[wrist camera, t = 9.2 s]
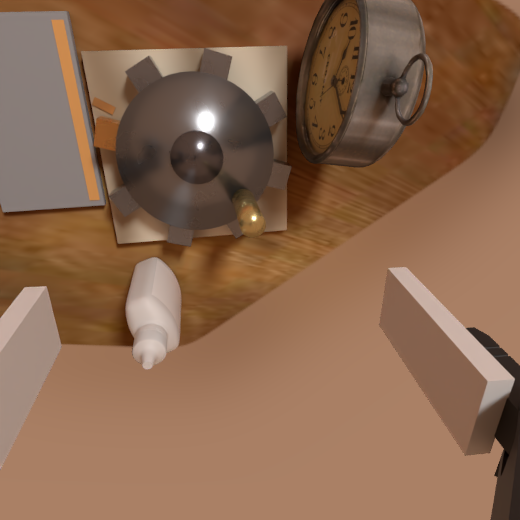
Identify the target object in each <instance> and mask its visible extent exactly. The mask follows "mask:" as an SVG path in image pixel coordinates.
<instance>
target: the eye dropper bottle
mask: <svg viewBox="0 0 520 520" xmlns="http://www.w3.org/2000/svg"><path fill="white" fill-rule="evenodd" d="M125 311H126V319H127V323H128V327H129V329H130V332H131V334H132V335H133V337H134V343H133V348H132V355H133V358H134V359H135V360H136V361H137V362H138V363H140V364H142V367H143V368H144V369H151V368H152V366H153V365H156V364H158V363H160V362H161V361H163V359H164V358H165V356H166V353H168V352H171V351H173V350H174V349H176V348H177V347H178V344H179V339H180V320H181V291H180V287H179V283H178V281H177V279H176V277H175V275H174V273H173V272H172V271H171V269H170V268H169V267H168V266H167V265H166V264H165V263H164V262H163V261H162V260H160V259H159V258H156V257H153V258H149V259H147V260H144V261H142V262H140V263H138V264H137V265H136V266H135V269H134V273H133V277H132V281H131V285H130V289H129V292H128V296H127V301H126V309H125Z"/></svg>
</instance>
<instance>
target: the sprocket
mask: <svg viewBox="0 0 520 520" xmlns="http://www.w3.org/2000/svg"><path fill="white" fill-rule="evenodd" d="M231 61H232V56H229V55H226V54H223V53H220V52H216V51H213V50H210V49H206V48H204V51H203V56H202V61H201V66H200V72H199V71H184V72H178V73H173V74H169V75H167V76H163V75H162V73H161V72H160V70H159V68H158V67H157V65H156V64H155V62H154V60H153V59H152V57H151V56H148V57H146V58H144V59H143V60H141V61H140V62H138V63H137V64H135V65H134V66H132V67H131V68H129V69H128V70H126V71H125V73H126V74H127V76H128V77H129V79H130V80H131V82H132V83H133V85H134V86H135V88H136V89H137V91H138V92H139V93H138V94H137V95H136V96H135V97H134V98H133V100H132V101H131V102H130V104H129V105H128V107H127V108H126V110H125V112H124V114H123V116H122V118H121V121H119V120H115V119H111V118H107V117H103V116H100V117H98V118H97V119H96V128H95V137H94V146H95V147H99V148H104V149H108V150H112V151H116V160H117V165H118V170H119V173H120V175H121V178H122V181H123V183H124V184H122V185H120V186H119V187H117V188H116V189H114V190H112V192H111V193H110V195H109V198H110V199H111V200H112V201H113V203H114V204H115V205H116V207H117V208H118V209H119V210H120V212H121V213H122V214H123V215H124V217H126V216H127V215H129V214H130V213H132V212H134V211H135V210H137V209H139V208H140V207H142V208H143V209H144V210H145V211H146V212H147V213H149V214H150V215H152V216H153V217H154V218H156V219H158V220H160V221H162V222H164V223H166V224H169V225H170V226H169V231H168V237H167V242H169V243H174V244H180V245H185V246H190V247H191V243H192V238H193V234H194V230H205V229H212V228H216V227H220V226H223V225H226V224H227V226H228V227H229V229H230V230H231V232H232V233H233V235H234V236H235V238H238V237H240V236H241V235H243V234H244V235H245V236H247V237H250V238H255V237H258V236H260V235H261V234H262V233H263V232H264V231H265V228H266V222H265V219H264V217H263V215H262V213H261V211H260V208H259V206H258V204H257V201H258V200H259V198H260V197H261V195H262V194H263V192H264V190H265V188H266V186H269V187H273V188H277V189H282V190H285V187H286V184H287V181H288V177H289V174H290V171H291V167H292V166H291V165H290V164H289V163H288V162H285V161H281V160H276V159H273V158H274V149H273V140H272V135H271V131H270V128H269V127H271V126H272V125H274V124H276V123H277V122H279V121H281V120H282V119H284V118H285V117H287V115H286V113H285V111H284V109H283V107H282V105H281V104H280V102H279V100H278V98H277V96H276V94H275V92H273V91H270V92H268V93H266V94H265V95H263V96H262V97H260V98H259V99H257V100H255V101H254V100H253V99H252V98H251V97H250V96H249V95H248V94H247V93H246V92H245V91H244V90H242V89H241V88H240V87H238V86H237V85H235V84H234V83H232V82H230V81H228V80H227V79H228V75H229V70H230V65H231Z"/></svg>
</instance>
